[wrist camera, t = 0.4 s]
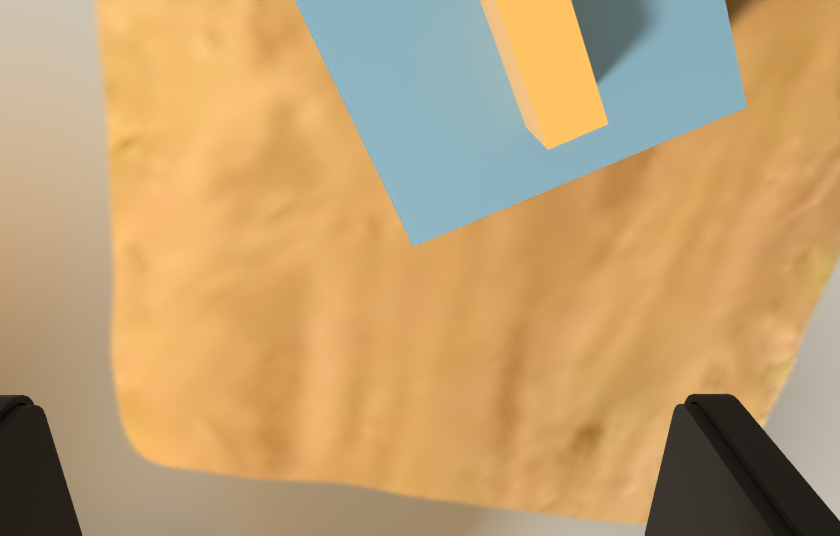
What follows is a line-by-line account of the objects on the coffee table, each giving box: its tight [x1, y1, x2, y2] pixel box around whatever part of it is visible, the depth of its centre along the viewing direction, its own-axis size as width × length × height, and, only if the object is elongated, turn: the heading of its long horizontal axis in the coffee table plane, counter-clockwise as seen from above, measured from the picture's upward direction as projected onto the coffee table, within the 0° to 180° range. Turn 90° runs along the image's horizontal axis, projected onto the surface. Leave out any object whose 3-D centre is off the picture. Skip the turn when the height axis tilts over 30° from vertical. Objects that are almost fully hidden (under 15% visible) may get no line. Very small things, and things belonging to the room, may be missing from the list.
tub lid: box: [295, 0, 747, 247], centre depth 24 cm, size 16×12×6 cm
